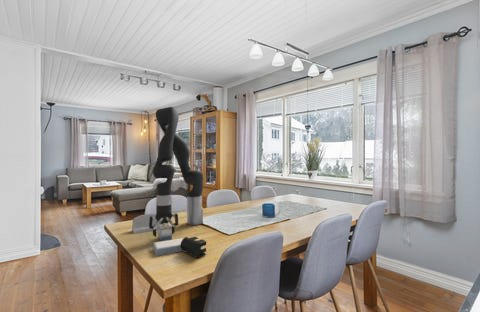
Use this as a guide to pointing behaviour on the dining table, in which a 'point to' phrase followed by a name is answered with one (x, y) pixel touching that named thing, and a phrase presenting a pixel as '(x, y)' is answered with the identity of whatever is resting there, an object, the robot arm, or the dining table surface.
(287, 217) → the dining table surface
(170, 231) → the housing
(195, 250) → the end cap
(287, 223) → the dining table surface
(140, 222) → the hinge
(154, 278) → the dining table surface
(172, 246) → the stand
